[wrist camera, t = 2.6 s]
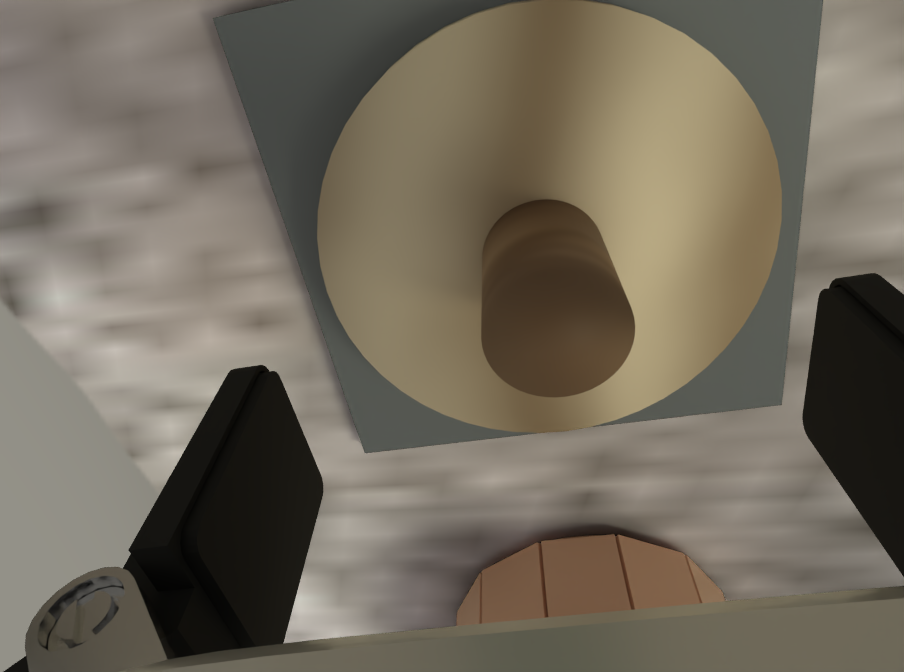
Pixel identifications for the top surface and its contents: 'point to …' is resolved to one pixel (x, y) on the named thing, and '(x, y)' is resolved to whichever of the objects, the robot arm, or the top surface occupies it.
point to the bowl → (585, 580)
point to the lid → (549, 216)
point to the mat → (419, 16)
